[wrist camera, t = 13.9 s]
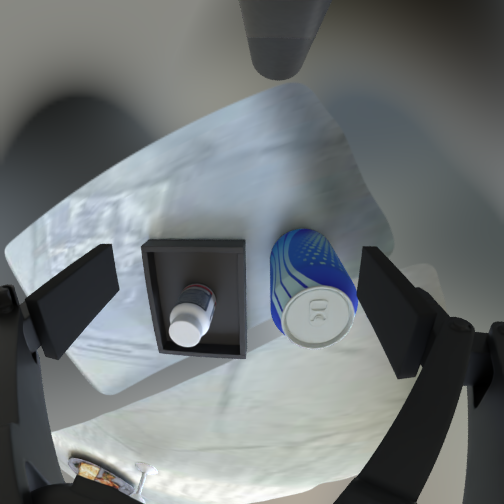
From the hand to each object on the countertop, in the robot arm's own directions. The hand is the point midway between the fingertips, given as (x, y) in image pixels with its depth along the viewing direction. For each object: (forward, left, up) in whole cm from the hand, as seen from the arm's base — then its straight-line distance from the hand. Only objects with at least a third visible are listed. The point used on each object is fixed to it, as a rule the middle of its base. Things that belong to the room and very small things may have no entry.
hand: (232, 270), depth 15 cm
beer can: (+8, +6, -25) cm, 27 cm away
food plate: (+87, -51, -25) cm, 104 cm away
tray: (+15, -8, -25) cm, 30 cm away
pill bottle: (+15, -8, -24) cm, 30 cm away
